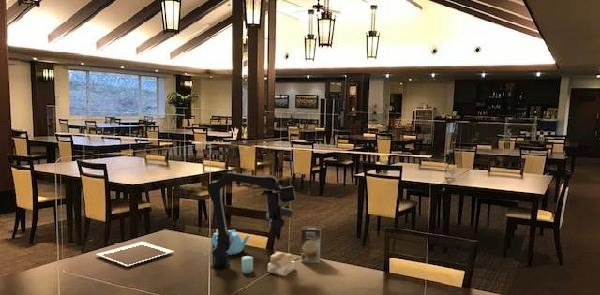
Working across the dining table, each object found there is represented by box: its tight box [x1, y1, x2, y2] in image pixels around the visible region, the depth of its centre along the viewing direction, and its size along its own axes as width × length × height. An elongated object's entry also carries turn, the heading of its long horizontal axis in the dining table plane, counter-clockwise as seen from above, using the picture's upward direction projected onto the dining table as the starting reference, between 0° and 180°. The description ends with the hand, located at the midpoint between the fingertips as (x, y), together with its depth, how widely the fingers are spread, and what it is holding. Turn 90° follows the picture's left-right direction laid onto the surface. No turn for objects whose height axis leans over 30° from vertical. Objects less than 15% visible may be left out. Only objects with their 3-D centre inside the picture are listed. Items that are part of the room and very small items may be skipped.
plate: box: [95, 241, 175, 267], centre depth 219 cm, size 26×26×2 cm
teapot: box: [210, 229, 250, 256], centre depth 228 cm, size 15×15×11 cm
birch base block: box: [267, 260, 296, 276], centre depth 202 cm, size 9×9×4 cm
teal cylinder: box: [241, 255, 254, 274], centre depth 200 cm, size 5×5×6 cm
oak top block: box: [269, 251, 293, 266], centre depth 201 cm, size 7×7×4 cm
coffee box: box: [300, 225, 322, 264], centre depth 215 cm, size 9×6×16 cm
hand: (277, 236), depth 205 cm, fingers open, 9 cm apart
